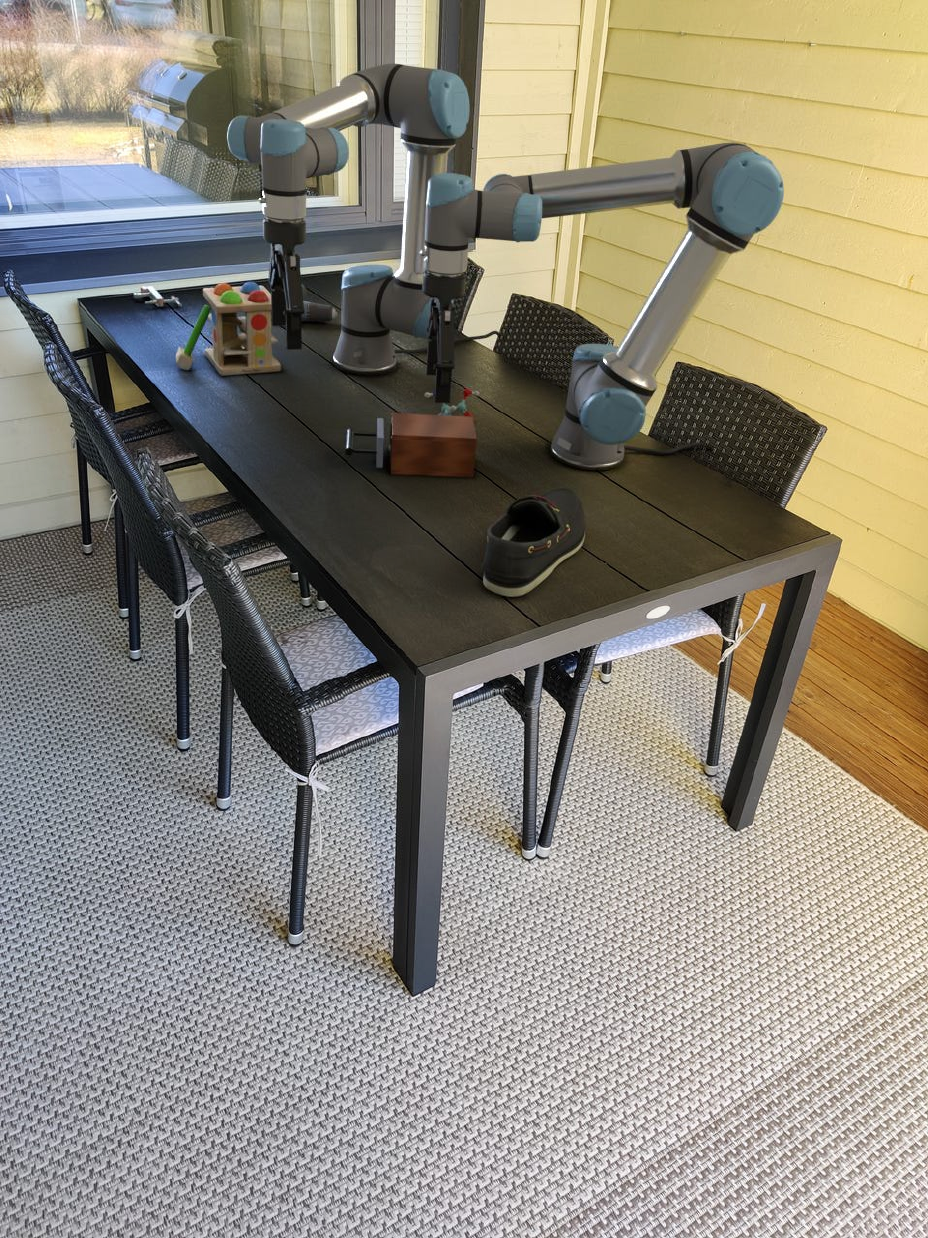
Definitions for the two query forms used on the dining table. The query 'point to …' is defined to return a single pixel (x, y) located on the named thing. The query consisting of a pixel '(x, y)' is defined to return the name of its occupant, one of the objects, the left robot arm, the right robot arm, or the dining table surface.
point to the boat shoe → (532, 541)
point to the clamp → (155, 297)
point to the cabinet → (433, 445)
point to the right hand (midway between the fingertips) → (437, 388)
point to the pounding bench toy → (235, 331)
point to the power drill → (316, 310)
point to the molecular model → (461, 406)
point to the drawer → (380, 436)
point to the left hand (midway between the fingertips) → (286, 336)
